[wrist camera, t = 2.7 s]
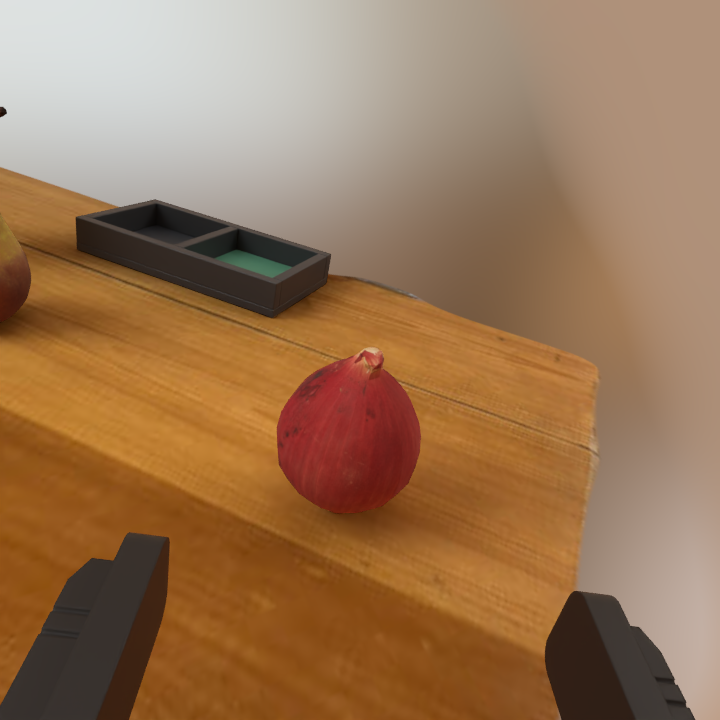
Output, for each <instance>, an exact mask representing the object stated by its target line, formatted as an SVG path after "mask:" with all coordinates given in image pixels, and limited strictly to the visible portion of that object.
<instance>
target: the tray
mask: <svg viewBox="0 0 720 720" xmlns="http://www.w3.org/2000/svg"><path fill="white" fill-rule="evenodd" d="M76 235H77V249H78V250H80V251H83V252H86V253H89V254H92V255H95V256H98V257H100V258H103V259H106V260H109V261H112V262H115V263H117V264H120V265H123V266H126V267H129V268H132V269H135V270H137V271H140V272H143V273H146V274H149V275H152V276H155V277H157V278H160V279H163V280H166V281H169V282H172V283H174V284H177V285H180V286H183V287H186V288H189V289H192V290H194V291H197V292H200V293H203V294H206V295H209V296H212V297H214V298H217V299H220V300H223V301H226V302H229V303H231V304H234V305H237V306H240V307H243V308H246V309H249V310H251V311H254V312H257V313H260V314H263V315H266V316H269V317H271V318H273V317H275V316H276V315H278V314H279V313H281V312H282V311H284V310H285V309H287V308H289V307H290V306H292V305H293V304H295V303H296V302H298V301H300V300H301V299H303V298H304V297H306V296H307V295H309V294H311V293H312V292H314V291H315V290H317V289H318V288H320V287H321V286H323V285H325V284H326V282H327V276H328V270H329V264H330V258H331V254H329V253H326V252H323V251H319V250H316V249H313V248H310V247H307V246H304V245H300V244H297V243H294V242H291V241H288V240H284V239H281V238H278V237H274V236H271V235H268V234H265V233H262V232H258V231H255V230H252V229H248V228H245V227H242V226H239V225H236V224H233V223H230V222H226V221H223V220H220V219H217V218H213V217H210V216H207V215H203V214H201V213H197V212H194V211H191V210H188V209H184V208H181V207H178V206H175V205H172V204H168V203H165V202H162V201H158V200H151V201H147V202H142V203H138V204H133V205H129V206H124V207H119V208H115V209H110V210H106V211H101V212H97V213H92V214H87V215H83V216H78V217H76Z"/></svg>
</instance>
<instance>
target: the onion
mask: <svg viewBox="0 0 720 720" xmlns="http://www.w3.org/2000/svg"><path fill="white" fill-rule="evenodd" d="M383 361H384V357H383V352H382V351H381V350H379V348H375V347H369V348H365V349H364V350H362V351H360V352H359V353H358V354H356V355H354V356H351V357H349V358H347V359H343V360H340V361H337V362H334V363H332V364H330V365H328V366H325V367H323V368H321V369H319V370H317V371H316V372H314V373H313V374H311V375H310V376H309V377H307V378H306V379H305V380H304V382H303V383H302V384H301V385H300V386H299V387H298V388H297V390H296V391H295V392H294V394H293V395H292V396H291V398H290V399H289V400H288V402H287V403H286V405H285V407H284V408H283V410H282V412H281V415H280V418H279V422H278V425H277V445H278V458H279V465H280V467H281V469H282V471H283V472H284V474H285V476H286V477H287V479H288V480H289V481H290V483H291V484H292V485H293V486H294V488H295V489H296V490H297V491H298V493H299V494H301V495H302V496H303V497H305V498H306V499H308V500H309V501H311V502H312V503H314V504H316V505H317V506H319V507H320V508H323V509H326V510H329V511H330V512H333V513H358V512H363V511H366V510H370V509H374V508H377V507H381V506H383V505H384V504H385V503H387V502H388V501H389V500H390V499H392V498H393V497H394V496H396V495H397V494H398V493H399V492H400V491H401V490H402V489H403V488H404V487H405V486H406V485H407V484H408V483H409V480H410V478H411V476H412V473H413V471H414V469H415V466H416V463H417V459H418V456H419V453H420V440H421V434H420V426H419V421H418V418H417V416H416V413H415V410H414V408H413V405H412V403H411V400H410V399H409V397H408V395H407V393H406V392H405V390H404V389H403V388H402V386H401V385H400V384H399V383H398V382H397V381H396V379H395V378H394V377H393V376H392V375H390V374H389V373H388V372H387V371H385V370H384V369H383Z"/></svg>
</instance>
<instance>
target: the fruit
mask: <svg viewBox="0 0 720 720" xmlns="http://www.w3.org/2000/svg"><path fill="white" fill-rule="evenodd" d="M5 114H7V112H6V109H4V108H3V107H0V117H2V116H4V115H5ZM30 284H31V273H30V268H29V264H28V261H27V258H26V255H25V253H24V251H23V249H22V248H21V246H20V244H19V243H18V241H17V239H16V238H15V236H14V235H13V233H12V232H11V230H10V229H9V227H8V226H7V224H6V222H5V221H4V219H3V217H2V216H1V214H0V322H2V321H4V320H6V319H8V318H10V317H11V316H12V315H13V314H14V313H15V312H17V311H18V310H19V308H20V307H21V306H22V305H23V303H24V302H25V300H26V299H27V296H28V292H29V289H30Z"/></svg>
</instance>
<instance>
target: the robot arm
mask: <svg viewBox="0 0 720 720" xmlns="http://www.w3.org/2000/svg"><path fill="white" fill-rule="evenodd" d="M169 544H170V542H169V538H168V537H162V536H154V535H146V534H138V533H130V532H129V533H128V534H127V535H126V537H125V538H124V540H123V542H122V544H121V546H120V549H119V551H118V553H117V555H116V557H115V559H114V561H111V560H103V559H95V558H92V559H90V560H89V561H88V562H87V563H86V564H85V565H84V566H83V567H81V568H80V569H79V570H78V571H77V572H76V573H75V574H74V575H73V576H71V577H70V578H69V579H68V580H67V582H66V584H65V586H64V588H63V590H62V592H61V594H60V595H59V597H58V599H57V601H56V603H55V605H54V608H53V611H52V612H50V614H49V616H48V618H47V620H46V622H45V623H44V625H43V627H42V631H41V633H40V634H39V635H38V636H37V638H36V640H35V642H34V644H33V646H32V648H31V649H30V651H29V653H28V655H27V657H26V659H25V661H24V663H23V664H22V666H21V668H20V670H19V672H18V674H17V676H16V677H15V679H14V681H13V683H12V685H11V687H10V689H9V690H8V692H7V694H6V696H5V698H4V700H3V702H2V704H1V705H0V720H129V717H130V714H131V711H132V708H133V705H134V702H135V699H136V696H137V693H138V690H139V687H140V684H141V681H142V678H143V675H144V672H145V669H146V666H147V663H148V660H149V658H150V655H151V652H152V649H153V646H154V643H155V640H156V637H157V634H158V631H159V628H160V624H161V621H162V617H163V613H164V609H165V603H166V597H167V586H168V565H169ZM545 664H546V670H547V674H548V677H549V680H550V684H551V687H552V690H553V693H554V696H555V700H556V703H557V706H558V709H559V713H560V716H561V719H562V720H695V718H694V716H693V714H692V712H691V710H690V708H687V707H686V700H685V699H684V697H683V695H682V693H681V691H680V689H679V687H678V685H675V683H674V680H675V679H674V677H673V675H672V673H671V671H670V669H669V667H668V666H667V663H666V662H665V659H664V657H663V655H662V653H661V652H660V650H659V649H658V648H657V647H656V646H655V645H654V644H653V642H652V641H651V640H650V639H649V638H648V637H647V636H646V634H645V633H644V632H643V631H642V630H641V629H640V628H639V627H634V626H630V624H629V622H628V620H627V618H626V616H625V614H624V612H623V610H622V608H621V605H620V604H619V602H618V601H617V599H616V598H615V597H613V596H610V595H603V594H596V593H588V592H580V591H574V592H572V593H571V594H570V596H569V597H568V599H567V601H566V603H565V605H564V607H563V609H562V611H561V613H560V615H559V617H558V619H557V621H556V623H555V625H554V627H553V629H552V631H551V633H550V635H549V637H548V639H547V642H546V648H545Z"/></svg>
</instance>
